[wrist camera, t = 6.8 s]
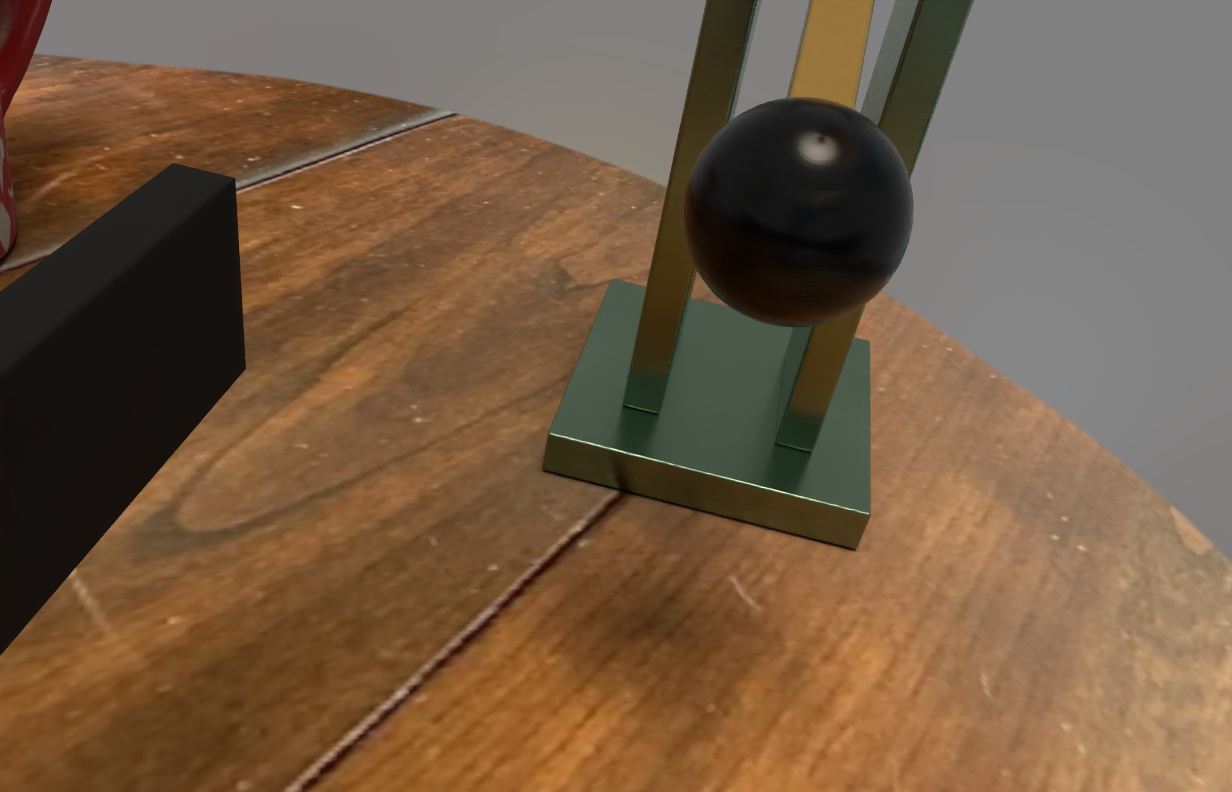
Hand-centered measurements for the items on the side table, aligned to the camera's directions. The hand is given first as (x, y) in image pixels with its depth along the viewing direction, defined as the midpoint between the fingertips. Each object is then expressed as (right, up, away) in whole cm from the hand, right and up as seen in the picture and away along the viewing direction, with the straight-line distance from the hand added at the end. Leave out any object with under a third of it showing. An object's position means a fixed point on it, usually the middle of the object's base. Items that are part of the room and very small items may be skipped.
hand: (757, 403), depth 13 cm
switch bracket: (+1, 0, +17) cm, 17 cm away
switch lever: (+2, +6, +8) cm, 10 cm away
